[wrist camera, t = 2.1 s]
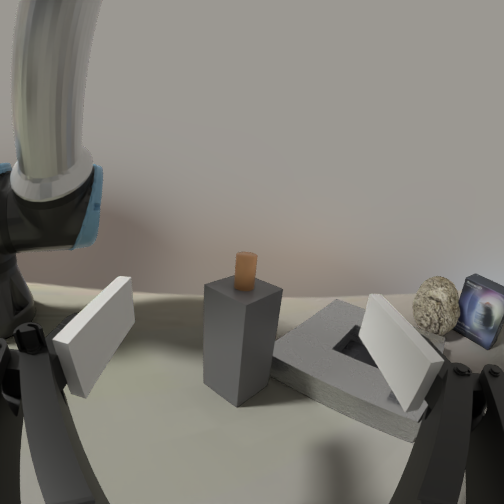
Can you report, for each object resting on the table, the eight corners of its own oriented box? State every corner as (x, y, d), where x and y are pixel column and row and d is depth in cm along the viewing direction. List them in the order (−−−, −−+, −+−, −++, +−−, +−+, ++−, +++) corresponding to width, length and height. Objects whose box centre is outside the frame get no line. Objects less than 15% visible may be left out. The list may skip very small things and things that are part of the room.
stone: (430, 347, 36) (451, 290, 33) (402, 318, 45) (417, 268, 43) (453, 342, 37) (473, 289, 34) (425, 317, 46) (440, 269, 43)
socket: (258, 369, 31) (262, 345, 30) (332, 314, 46) (337, 295, 45) (411, 442, 19) (427, 420, 18) (438, 353, 34) (446, 334, 33)
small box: (447, 327, 42) (464, 276, 39) (459, 320, 45) (474, 272, 42) (488, 351, 33) (510, 297, 30) (496, 341, 36) (516, 291, 33)
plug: (203, 382, 28) (205, 252, 24) (234, 365, 32) (245, 243, 28) (236, 407, 25) (249, 269, 21) (267, 385, 29) (287, 257, 25)
